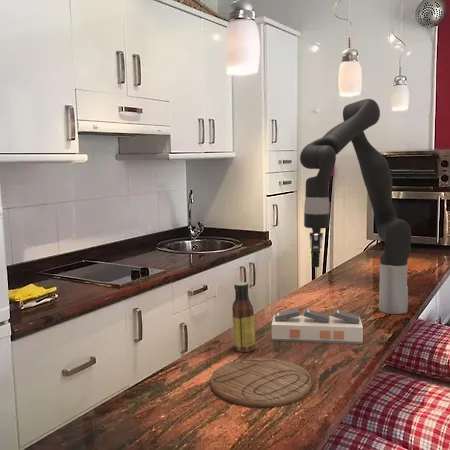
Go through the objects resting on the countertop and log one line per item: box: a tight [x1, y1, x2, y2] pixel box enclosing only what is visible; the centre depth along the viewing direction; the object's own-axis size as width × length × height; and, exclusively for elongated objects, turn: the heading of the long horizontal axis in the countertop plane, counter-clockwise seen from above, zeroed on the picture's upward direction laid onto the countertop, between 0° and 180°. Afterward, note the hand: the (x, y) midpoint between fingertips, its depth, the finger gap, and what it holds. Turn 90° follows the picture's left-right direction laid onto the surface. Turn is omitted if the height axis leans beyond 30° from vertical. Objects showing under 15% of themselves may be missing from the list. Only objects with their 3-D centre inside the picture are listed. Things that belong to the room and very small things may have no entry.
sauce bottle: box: [231, 281, 256, 353], centre depth 151 cm, size 6×6×20 cm
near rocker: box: [332, 308, 361, 324], centre depth 159 cm, size 8×4×2 cm, turn 81°
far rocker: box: [274, 307, 301, 321], centre depth 162 cm, size 8×4×2 cm, turn 80°
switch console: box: [271, 314, 364, 345], centre depth 161 cm, size 27×10×5 cm, turn 81°
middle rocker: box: [303, 308, 330, 323], centre depth 161 cm, size 8×4×2 cm, turn 81°
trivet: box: [210, 357, 312, 409], centre depth 130 cm, size 25×25×2 cm
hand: (315, 264), depth 160 cm, fingers open, 8 cm apart
